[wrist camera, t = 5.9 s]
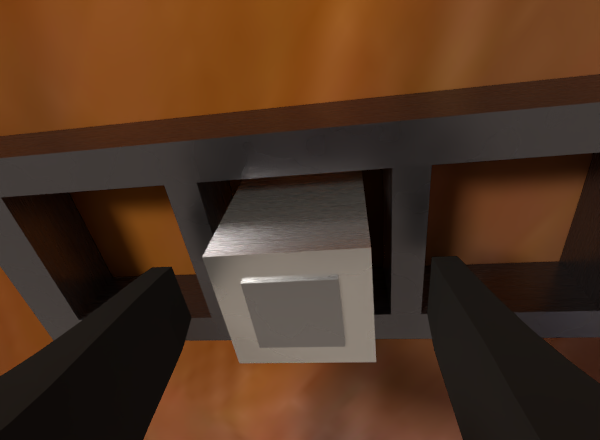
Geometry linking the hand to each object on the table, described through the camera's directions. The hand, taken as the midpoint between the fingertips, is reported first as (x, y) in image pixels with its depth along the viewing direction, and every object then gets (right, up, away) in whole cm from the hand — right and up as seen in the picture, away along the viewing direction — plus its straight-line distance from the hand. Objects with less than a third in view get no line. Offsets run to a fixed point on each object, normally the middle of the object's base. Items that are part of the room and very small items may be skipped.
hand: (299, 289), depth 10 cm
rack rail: (0, +2, +3) cm, 4 cm away
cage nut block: (0, +2, +3) cm, 4 cm away
